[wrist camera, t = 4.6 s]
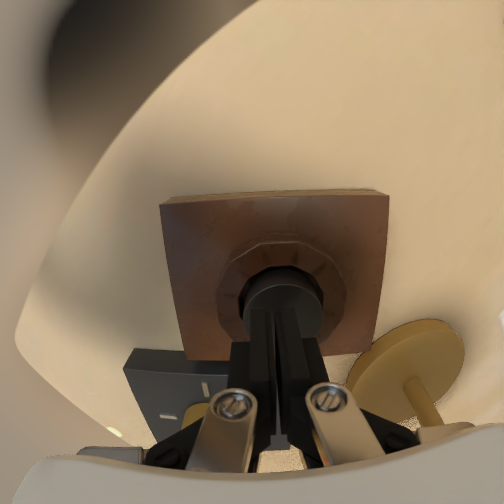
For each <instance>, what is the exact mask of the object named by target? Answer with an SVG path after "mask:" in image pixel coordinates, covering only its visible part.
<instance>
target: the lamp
mask: <svg viewBox="0 0 504 504" xmlns="http://www.w3.org/2000/svg"><path fill="white" fill-rule="evenodd" d="M464 355H465V350H464V345H463V342H462V340H461V338H460V337H459V336H458V335H457V334H456V332H455V331H454V330H453V329H452V328H451V327H450V326H449V325H448V324H446V323H445V322H442V321H440V320H435V319H423V320H417V321H413V322H410V323H407V324H404V325H402V326H400V327H398V328H396V329H394V330H392V331H390V332H388V333H387V334H385V335H384V336H382V337H381V338H380V339H378V340H377V341H376V342H374V343H373V344H372V345H371V350H370V351H367V352H364V353H363V354H362V355H361V356H360V357H359V359H358V360H357V361H356V363H355V364H354V366H353V367H352V369H351V371H350V373H349V375H348V378H347V382H346V388H347V389H348V390H349V391H350V392H351V394H352V396H353V398H354V399H355V401H356V403H357V405H358V406H359V408H361V409H364V410H366V411H368V412H370V413H373V414H375V415H377V416H380V417H382V418H384V419H387V420H389V421H391V422H394V423H398V422H401V421H404V420H407V419H409V418H411V417H413V416H417V419H418V421H419V423H420V425H421V427H431V426H439V425H445V424H444V422H443V420H442V418H441V416H440V415H439V413H438V411H437V409H436V407H435V405H434V403H435V402H436V401H438V400H439V399H440V398H441V397H442V396H443V395H444V394H445V393H446V392H447V391H448V389H449V388H450V387H451V386H452V384H453V383H454V381H455V380H456V378H457V376H458V374H459V373H460V370H461V368H462V365H463V361H464Z"/></svg>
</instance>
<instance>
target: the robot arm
mask: <svg viewBox="0 0 504 504" xmlns="http://www.w3.org/2000/svg"><path fill="white" fill-rule="evenodd" d="M274 315H275V357H274V346H273V336H272V325H271V315H270V311H267V312H265V308H253V309H251V313H250V341H242V342H232V343H231V352H230V361H229V371H228V380H227V389H225V390H222V391H220V392H218V393H217V394H215V395H214V396H213V397H212V399H211V401H210V403H209V405H208V408H207V411H206V413H205V416H203V417H202V418H200V419H198V420H197V421H195V422H193V423H192V424H190V425H189V426H187V427H185V428H183V429H182V430H180V431H178V432H177V433H175V434H173V435H171V436H170V437H168V438H166V439H164V440H163V441H161V442H159V443H157V444H155V445H154V446H153V447H151V448H150V449H143V448H142V447H97V446H90V447H85V448H83V449H81V450H80V451H79V452H78V453H77V454H76V455H56V456H50V457H46V458H44V459H41V460H39V461H38V462H37V463H35V464H34V465H33V466H32V467H31V469H30V470H29V471H28V473H27V474H26V476H25V477H24V479H23V481H22V482H21V484H20V486H19V488H18V489H17V492H16V494H15V496H14V498H13V500H12V502H11V504H504V423H489V424H483V425H479V426H475V425H473V424H472V423H469V422H458V423H452V424H446V425H439V426H431V427H422V428H417V430H416V431H411V430H409V429H408V428H406V427H404V426H401V425H399V424H396V423H394V422H391V421H389V420H387V419H384V418H382V417H380V416H377V415H375V414H373V413H370V412H368V411H366V410H364V409H361V408H359V406H358V405H357V403H356V401H355V399H354V398H353V396H352V394H351V392H350V391H349V390H348V389H347V388H346V387H344V386H343V385H341V384H338V383H334V382H329V378H328V375H327V371H326V368H325V365H324V361H323V358H322V355H321V351H320V348H319V345H318V341H317V339H316V337H311V338H301V334H300V330H299V325H298V321H297V317H296V313H295V309H294V306H291V307H280V311H275V312H274ZM276 381H277V383H276ZM277 392H278V404H279V416H280V428H281V435H287V442H290V444H291V445H293V446H295V447H296V448H298V449H299V455H300V458H301V461H302V464H303V467H304V470H298V471H286V472H270V473H258V471H259V466H260V460H261V452H263V451H264V450H265V449H266V448H268V447H269V446H270V445H271V436H272V435H276V418H277Z"/></svg>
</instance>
